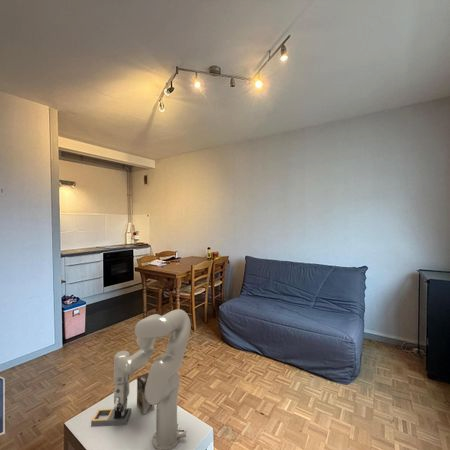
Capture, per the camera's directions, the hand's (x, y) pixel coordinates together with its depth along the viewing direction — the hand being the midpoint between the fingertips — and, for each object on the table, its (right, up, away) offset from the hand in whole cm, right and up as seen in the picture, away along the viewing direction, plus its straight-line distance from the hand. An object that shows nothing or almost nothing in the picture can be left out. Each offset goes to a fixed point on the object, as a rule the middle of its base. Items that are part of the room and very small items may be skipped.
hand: (121, 411), depth 126 cm
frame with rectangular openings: (-5, -4, 0) cm, 6 cm away
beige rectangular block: (0, -4, 0) cm, 4 cm away
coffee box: (+10, -4, +8) cm, 14 cm away
